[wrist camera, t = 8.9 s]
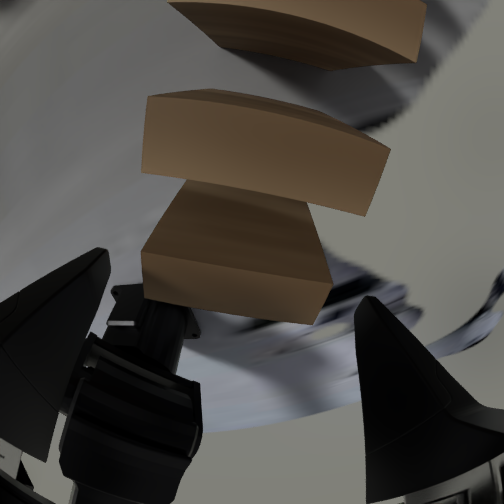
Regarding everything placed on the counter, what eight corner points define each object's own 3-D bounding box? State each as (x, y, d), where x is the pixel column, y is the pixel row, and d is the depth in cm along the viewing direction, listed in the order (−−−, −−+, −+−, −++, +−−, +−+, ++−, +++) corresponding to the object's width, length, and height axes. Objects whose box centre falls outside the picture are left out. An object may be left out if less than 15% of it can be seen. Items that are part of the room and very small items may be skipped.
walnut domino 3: (290, 211, 17) (312, 325, 9) (194, 194, 16) (144, 297, 9) (299, 182, 16) (333, 284, 8) (198, 163, 15) (140, 251, 8)
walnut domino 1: (330, 71, 12) (416, 63, 4) (219, 47, 11) (166, 2, 4) (337, 40, 11) (426, 4, 3) (227, 16, 10) (187, -58, 3)
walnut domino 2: (310, 143, 14) (365, 216, 7) (205, 122, 14) (141, 172, 6) (319, 111, 13) (390, 149, 6) (211, 88, 13) (147, 96, 5)
